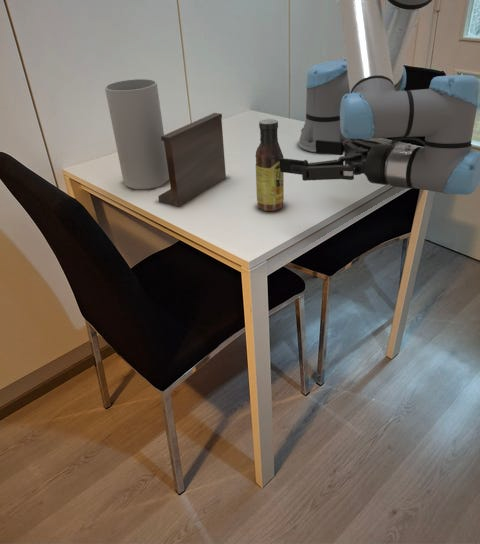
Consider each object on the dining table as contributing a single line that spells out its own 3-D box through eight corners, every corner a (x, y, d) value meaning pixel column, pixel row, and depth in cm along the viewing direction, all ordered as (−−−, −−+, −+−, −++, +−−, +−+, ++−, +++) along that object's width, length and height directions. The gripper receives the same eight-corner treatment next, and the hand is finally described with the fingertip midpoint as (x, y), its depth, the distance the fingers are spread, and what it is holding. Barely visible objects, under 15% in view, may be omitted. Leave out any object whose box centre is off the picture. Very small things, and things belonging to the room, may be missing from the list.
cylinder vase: (162, 191, 125) (146, 90, 111) (116, 189, 127) (96, 91, 114) (175, 172, 135) (163, 78, 122) (133, 172, 138) (116, 79, 124)
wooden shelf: (226, 177, 130) (221, 113, 121) (178, 207, 116) (169, 137, 107) (207, 173, 133) (201, 111, 124) (158, 202, 119) (147, 134, 110)
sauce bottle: (281, 213, 111) (281, 126, 100) (255, 212, 112) (251, 126, 101) (285, 201, 116) (284, 117, 105) (259, 200, 117) (256, 117, 106)
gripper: (420, 128, 97) (329, 123, 110) (360, 166, 82) (262, 155, 95) (418, 164, 101) (330, 155, 114) (360, 207, 86) (266, 191, 99)
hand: (299, 155), depth 105 cm, fingers open, 13 cm apart
